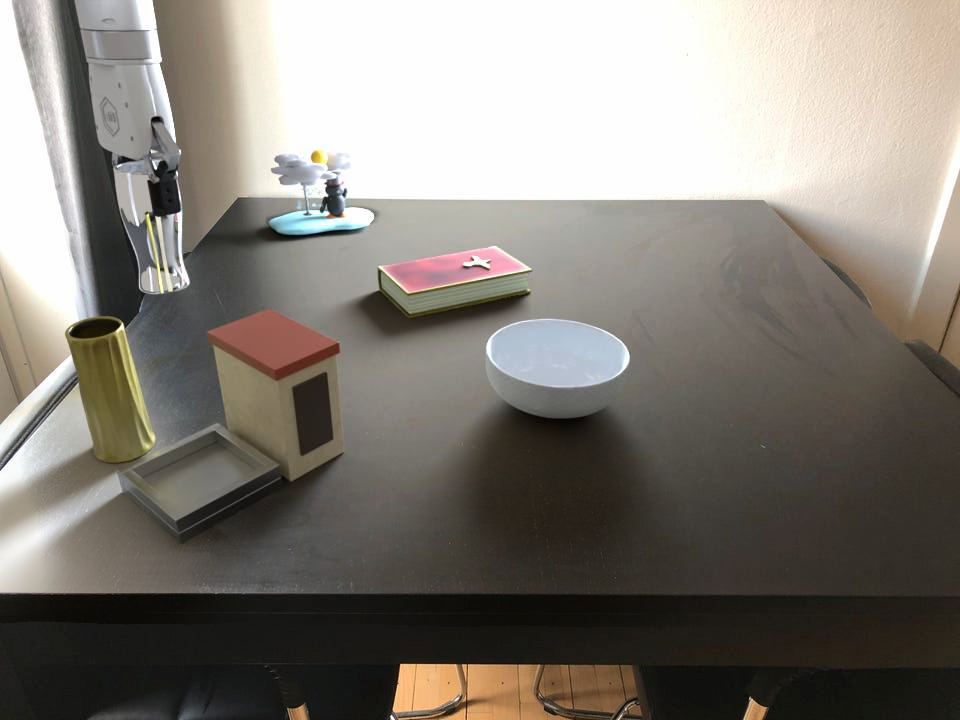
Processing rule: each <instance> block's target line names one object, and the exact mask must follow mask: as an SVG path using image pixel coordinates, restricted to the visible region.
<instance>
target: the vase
mask: <svg viewBox="0 0 960 720" xmlns="http://www.w3.org/2000/svg"><path fill="white" fill-rule="evenodd" d="M64 337H65V339H66V341H67V344H68V347H69V350H70V351H69V352H70V354H71V355H70V356H71V358H72V362H73V366H74V370H75V373H76V377H77V381H78V387H79V394H80V398H81V403H82V408H83V410H84V413H85V414H84V415H85V418H86V419H85V420H86V422H87V427H88V430H89V433H90V437H91V441H92V448H93V452H92V453H93V455H94V457H95V458H96V459H98V460H99V461H101V462H104V463H109V464H110V463H111V464H119V463H126V462H130V461H134V460H137V459H138V458H141V457H142V456H144V455H146V454H147V453H148V452H149V451H151V450H152V448H153V447H154V446H155V443H156V435H155V433H154V430H153V427H152V423H151V420H150V417H149V414H148V410H147V407H146V403H145V399H144V396H143V393H142V389H141V386H140V381H139V378H138V375H137V371H136V367H135V364H134V360H133V357H132V352H131V349H130V345H129V342H128V338H127V334H126V330H125V325H124V323H123V322H122V320H121V319H120V318H117V317H114V316H107V315H106V316H102V315H101V316H93V317H87V318H84V319H82V320H78V321H76V322H74V323H72V324H71V325H69V326H68V327H67V329H65V331H64Z"/></svg>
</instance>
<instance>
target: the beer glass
mask: <svg viewBox="0 0 960 720" xmlns="http://www.w3.org/2000/svg"><path fill="white" fill-rule="evenodd" d="M160 161H163V159H162V160H155V161H153V162H154V165H155V167H156V169H157V167H158V164H159V162H160ZM112 169H113V175H114V185H115V192H116V199H117V204H118V209H119V213H120V217H121V219H122V223H123V225H124V228H125V230H126V231H125V232H126V233H127V236H128V239H129V240H130V243H131V245H132V248H133V251H134V254H135V256H136V261H137V267H138V289H139V290H140V291H141V292H142V293H144V294H148V295H168V294H169V295H170V294H174V293H178V292H182V291H184V290H185V289H187V288H189V287H190V285H191V278H190V276H189V273H188V271H187V268H186V265H185V261H184V255H183V253H184V252H183V235H184V234H183V231H184V214H183V213H184V212H183V211H184V210H183V202H182V196H181V191H180V186H179V182H178V180H177V186H178V192H179V198H180V204H181V212H180V213H176V214H171V215H167V216H162V217H156V216H154V214H153V209H152V204H151V198H150V193H149V187H148V182H152V181H151V179H150V176H149V174H148V171H147V169H146V166H145V164H144V161H143V159H139V160H138V161H130V162H125V163H121V164H118V165H116V166H115V167H113V168H112Z"/></svg>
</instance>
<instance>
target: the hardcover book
mask: <svg viewBox="0 0 960 720" xmlns="http://www.w3.org/2000/svg"><path fill="white" fill-rule="evenodd" d="M532 272H533V269H532V268H531V267H530V266H527V265H526V264H524V263H523V262H521V261H519V260H518V259H517V258H515V257H514V256H512V255H510V254H508V253H507V252H505V250H502V249H501V248H499V247H498V246H495V245H494V246H489V247H483V248H477V249H471V250H466V251H465V250H464V251H459V252H454V253H448V254H443V255H437V256H432V257H426V258H420V259H414V260H408V261H402V262H398V263H397V262H396V263H391V264H385V265H379V266H377V285H378V290H379V292H381V294H383V295H384V297H386V298H387V299H388V300H389V301H390V302H391V303H392V304H393V305H394V306H395V307H396V308H397V309H398V310H399V311H400V312H401V313H403V315H405V317H406V318H408V319H413V318H416V317H417V318H418V317H422V316H426V315H432V314H436V313H440V312H441V313H442V312H446V311H451V310H455V309H460V308H464V307H471V306H475V305H479V304H483V303H488V301H489V302H493V301H498V299H499V300H503V299H508V298H512V297H511V296H513V297H517V296H516V295H518V296H521V295H527V294H531V293H532V290H531V289H530V288H528V287H529V273H532ZM530 292H531V293H530ZM526 293H527V294H526ZM507 297H508V298H507ZM502 298H503V299H502Z"/></svg>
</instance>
